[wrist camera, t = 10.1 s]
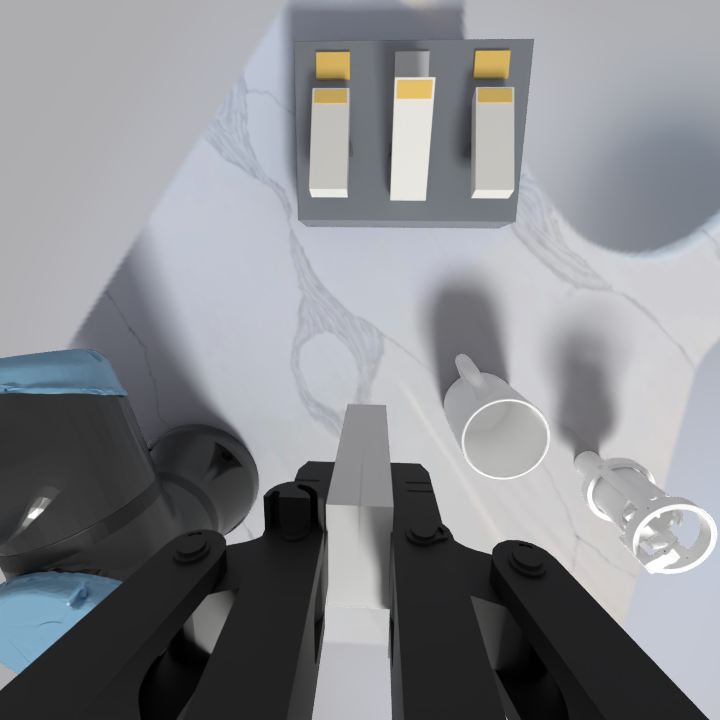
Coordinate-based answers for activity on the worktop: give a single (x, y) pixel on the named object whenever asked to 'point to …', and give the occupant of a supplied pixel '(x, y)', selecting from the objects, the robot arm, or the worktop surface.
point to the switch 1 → (329, 142)
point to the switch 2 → (411, 137)
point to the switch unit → (375, 123)
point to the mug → (494, 423)
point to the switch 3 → (492, 142)
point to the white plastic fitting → (643, 512)
